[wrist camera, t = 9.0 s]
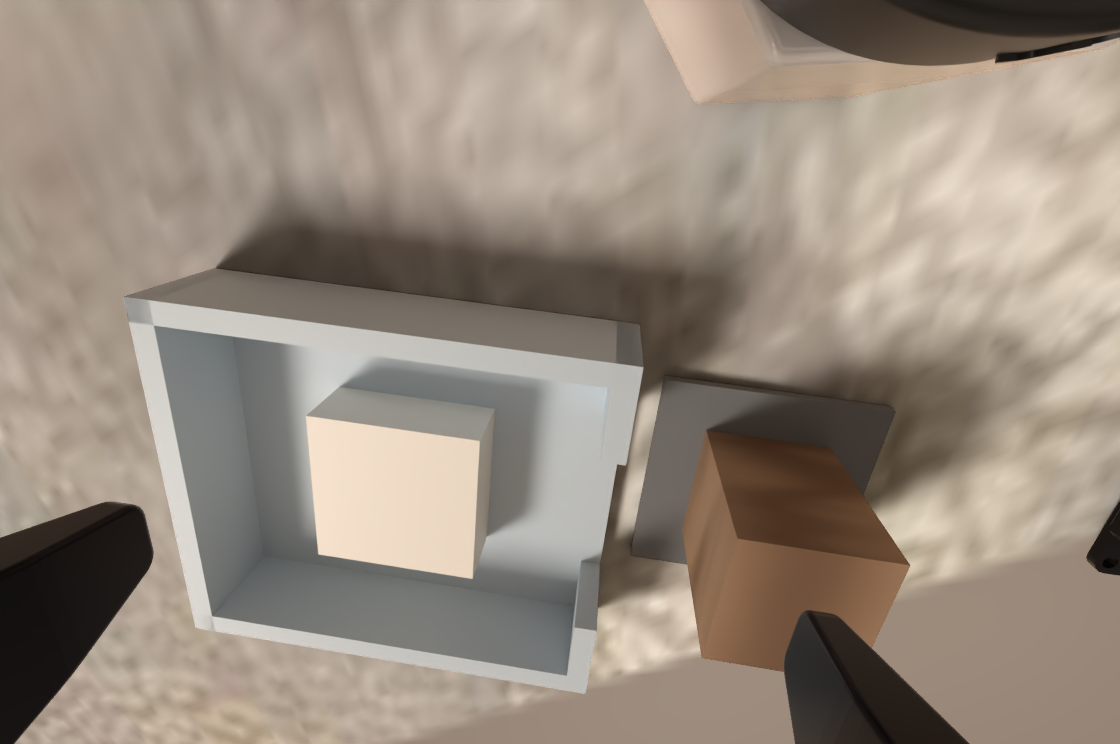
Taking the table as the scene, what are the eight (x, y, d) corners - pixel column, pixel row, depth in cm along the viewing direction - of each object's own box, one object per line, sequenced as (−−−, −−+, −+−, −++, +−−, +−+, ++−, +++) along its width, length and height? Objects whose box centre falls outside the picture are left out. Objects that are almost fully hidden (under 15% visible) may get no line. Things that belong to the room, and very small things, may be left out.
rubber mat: (890, 406, 19) (895, 411, 19) (824, 579, 23) (827, 586, 22) (664, 375, 20) (665, 379, 20) (630, 549, 23) (630, 555, 23)
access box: (639, 324, 19) (643, 367, 16) (590, 611, 25) (585, 693, 21) (214, 268, 20) (123, 296, 16) (256, 557, 26) (195, 627, 22)
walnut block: (830, 448, 20) (910, 565, 14) (796, 545, 22) (855, 683, 16) (706, 429, 20) (737, 538, 15) (681, 528, 22) (701, 657, 16)
